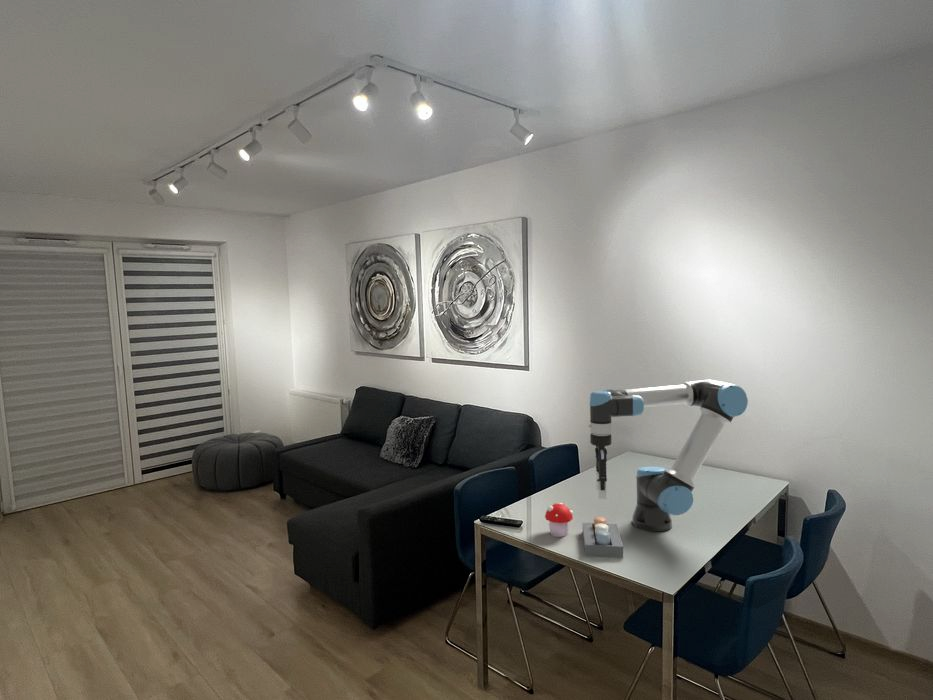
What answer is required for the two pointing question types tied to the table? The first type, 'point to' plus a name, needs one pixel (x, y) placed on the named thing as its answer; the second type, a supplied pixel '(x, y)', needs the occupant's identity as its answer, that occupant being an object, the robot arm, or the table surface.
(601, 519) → the button terracotta
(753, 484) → the table surface
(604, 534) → the button slate
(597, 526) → the button ivory
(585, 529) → the grey button tray
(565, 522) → the mushroom
